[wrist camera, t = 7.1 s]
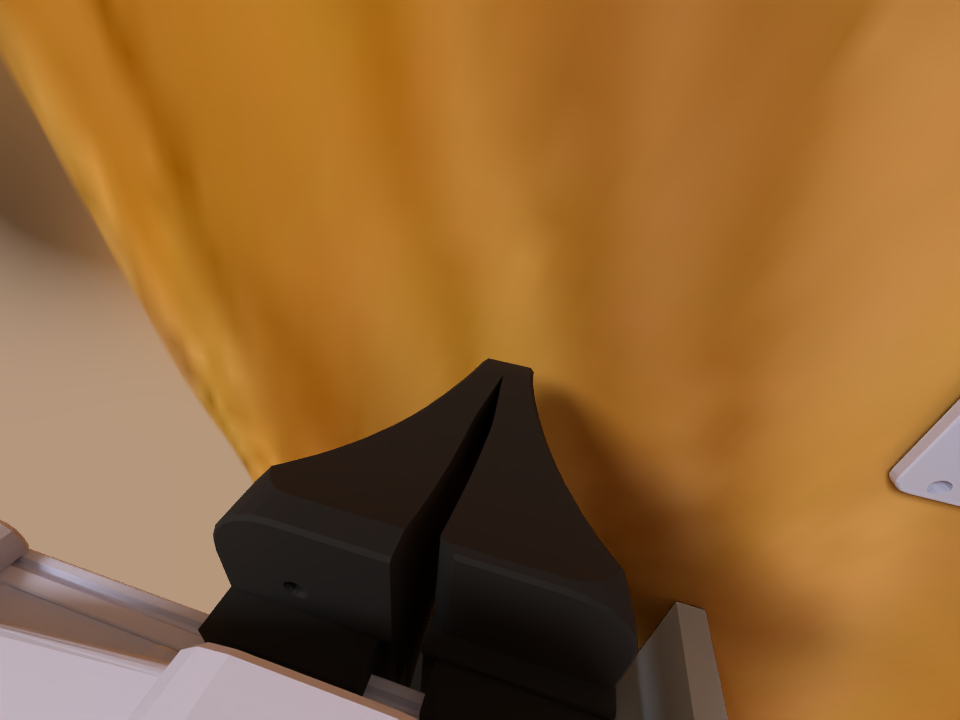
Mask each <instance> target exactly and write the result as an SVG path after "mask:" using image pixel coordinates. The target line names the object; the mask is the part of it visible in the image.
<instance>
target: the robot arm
mask: <svg viewBox="0 0 960 720" xmlns="http://www.w3.org/2000/svg"><path fill="white" fill-rule="evenodd" d="M533 374H534V372H533V371H532V369H531V368H528V367H524V366H519V365H515V364H511V363H506V362H502V361H497V360H493V359H489V358H488V359H487V360H485V361H484V362H483V363H481V364H480V365H479V366H478V367H477V368H476V369H475V370H474V371H473V372H472V373H470V374H469V375H468V376H467V377H466V378H465V379H463V380H462V381H461V382H460V383H458V384H457V385H456V386H455V387H453V388H452V389H451V390H449V391H448V392H447V393H445V394H444V395H443V396H441V397H440V398H438V399H437V400H435V401H434V402H432V403H431V404H430V405H428V406H427V407H425V408H424V409H422V410H420V411H419V412H417V413H415V414H414V415H412V416H410V417H408V418H407V419H405V420H403V421H401V422H399V423H397V424H395V425H393V426H391V427H389V428H387V429H385V430H382V431H380V432H378V433H376V434H373V435H371V436H369V437H367V438H364V439H362V440H359V441H356V442H353V443H351V444H348V445H345V446H342V447H339V448H336V449H333V450H330V451H327V452H324V453H321V454H317V455H313V456H310V457H306V458H302V459H298V460H294V461H290V462H287V463H283V464H279V465H274V466H271V467H270V468H269V469H268V470H267V471H266V472H265V473H264V474H263V475H262V476H261V477H260V478H259V479H258V480H256V481H255V482H254V484H253V485H252V486H251V487H250V488H249V489H248V490H247V491H246V492H245V493H244V494H243V496H242V497H241V498H240V499H239V500H238V501H237V502H236V503H235V504H234V505H233V506H232V507H231V509H230V510H229V511H228V512H227V513H226V514H225V515H224V516H223V517H222V518H221V519H220V520H219V521H218V523H217V524H216V525H215V529H214V533H213V537H214V543H215V547H216V551H217V553H218V555H219V558H220V560H221V563H222V565H223V567H224V570H225V572H226V574H227V577H228V579H229V581H230V584H231V588H230V589H229V590H228V592H227V593H226V594H225V595H224V597H223V598H222V599H221V601H220V602H219V603H218V604H217V606H216V607H215V608H214V610H213V611H212V612H211V613H210V615H209V614H206V613H203V612H201V611H198V610H195V609H192V608H190V607H187V606H184V605H181V604H179V603H176V602H173V601H170V600H168V599H165V598H162V597H160V596H157V595H154V594H151V593H149V592H146V591H143V590H140V589H138V588H135V587H132V586H129V585H127V584H124V583H121V582H119V581H116V580H113V579H110V578H108V577H105V576H102V575H100V574H97V573H94V572H91V571H89V570H86V569H83V568H80V567H77V566H75V565H72V564H69V563H67V562H64V561H61V560H59V559H56V558H53V557H50V556H47V555H45V554H42V553H39V552H37V551H34V550H31V549H29V545H28V543H27V542H26V541H25V539H24V538H23V536H22V535H21V534H20V533H19V532H18V531H17V530H16V529H15V528H13V527H12V526H10V525H9V524H7V523H6V522H4V521H1V520H0V720H614V719H615V717H616V686H617V684H618V683H619V681H620V680H621V679H622V677H623V676H624V674H625V673H626V671H627V670H628V669H629V667H630V666H631V664H632V663H633V662H634V660H635V657H636V654H637V652H638V635H637V627H636V621H635V615H634V610H633V605H632V600H631V596H630V592H629V588H628V584H627V580H626V577H625V573H624V570H623V569H622V568H621V566H620V565H619V564H618V562H617V561H616V560H615V559H614V557H613V556H612V555H611V553H610V552H609V551H608V550H607V548H606V547H605V546H604V544H603V543H602V542H601V540H600V539H599V538H598V536H597V535H596V533H595V532H594V530H593V529H592V527H591V526H590V524H589V523H588V521H587V520H586V518H585V517H584V515H583V514H582V512H581V511H580V509H579V507H578V505H577V504H576V502H575V500H574V498H573V497H572V495H571V493H570V492H569V490H568V488H567V486H566V485H565V483H564V481H563V479H562V477H561V474H560V472H559V470H558V468H557V466H556V464H555V462H554V459H553V457H552V455H551V452H550V450H549V447H548V444H547V442H546V439H545V436H544V433H543V430H542V426H541V423H540V419H539V415H538V411H537V407H536V402H535V397H534V389H533ZM889 477H890V480H891V481H892V482H893V483H894V485H895V486H896V487H897V488H898V489H899V490H900V491H902V492H905V493H908V494H912V495H916V496H920V497H924V498H928V499H932V500H936V501H940V502H944V503H948V504H952V505H956V506H960V399H959V400H958V401H957V402H956V403H955V404H954V405H953V406H952V407H951V408H950V409H949V410H948V412H947V413H946V414H945V415H944V416H943V417H942V418H941V419H940V420H939V421H938V422H937V423H936V424H935V425H934V426H933V427H932V428H931V429H930V430H929V431H928V432H927V433H926V434H925V435H924V436H923V437H922V438H921V439H920V440H919V442H918V443H917V444H916V445H915V446H914V447H913V448H912V449H911V450H910V451H909V452H908V453H907V454H906V455H905V456H904V457H903V458H902V459H901V460H900V461H899V462H898V463H897V464H896V465H895V466H894V467H893V468H892V470H891V472H890V473H889ZM937 481H938V482H937ZM933 482H936V483H933ZM434 604H435V606H434ZM433 607H434V611H433ZM432 611H433V614H432ZM431 614H432V617H431ZM430 617H431V620H430ZM429 621H430V623H429ZM428 624H429V626H428ZM427 628H428V629H427ZM426 631H427V632H426ZM425 634H426V635H425ZM420 651H421V654H423V660H422V675H421V691H420V692H419V691H417V690H414V689H411V688H410V686H411V682H412V679H413V675H414V672H415V669H416V665H417V662H418V658H419V655H420Z"/></svg>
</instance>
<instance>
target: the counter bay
mask: <svg viewBox="0 0 960 720" xmlns="http://www.w3.org/2000/svg"><path fill="white" fill-rule="evenodd" d="M614 720H728V716H727V711H726V706H725V702H724V697H723V692H722V687H721V682H720V677H719V673H718V668H717V663H716V658H715V653H714V649H713V644H712V639H711V634H710V629H709V624H708V620H707V615H706V610H703V609H699V608H696V607H693V606H690V605H686V604H683V603H680V602H677V601H676V602H675V604H674V605H673V607H672V608H671V609H670V611H669V612H668V613H667V615H666V616H665V617H664V619H663V620H662V621H661V623H660V624H659V626H658V627H657V628H656V630H655V631H654V632H653V634H652V635H651V636H650V638H649V639H648V640H647V642H646V643H645V644H644V646H643V647H642V649H641V650H640V651H639V653H638V654H637V655H636V657H635V660H634V662H633V663H632V664H631V666H630V667H629V669H628V670H627V671H626V673H625V674H624V676H623V677H622V679H621V680H620V681H619V683H618V684H617V686H616V717H615V719H614Z"/></svg>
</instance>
